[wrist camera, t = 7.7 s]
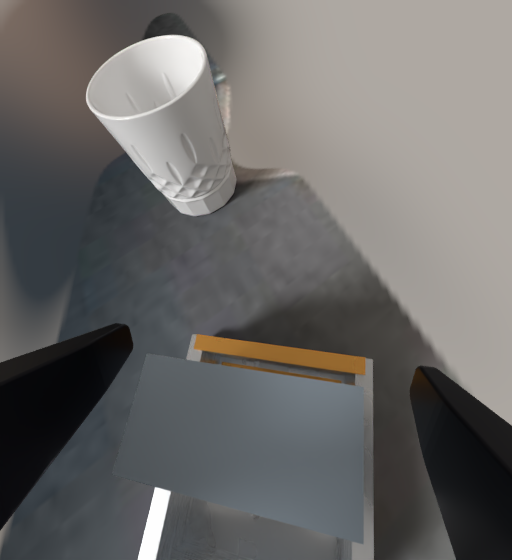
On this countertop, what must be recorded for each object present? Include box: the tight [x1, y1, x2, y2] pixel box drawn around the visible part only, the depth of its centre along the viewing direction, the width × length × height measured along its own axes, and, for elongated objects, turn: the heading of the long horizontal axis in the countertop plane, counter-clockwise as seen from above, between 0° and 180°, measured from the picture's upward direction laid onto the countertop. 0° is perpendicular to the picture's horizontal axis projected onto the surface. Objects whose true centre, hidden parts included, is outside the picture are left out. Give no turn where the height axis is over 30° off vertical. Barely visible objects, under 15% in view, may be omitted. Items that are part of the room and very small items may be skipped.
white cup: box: [86, 35, 237, 216], centre depth 20 cm, size 8×8×10 cm
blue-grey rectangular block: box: [112, 354, 364, 545], centre depth 11 cm, size 3×6×10 cm, turn 83°
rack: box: [138, 334, 374, 560], centre depth 14 cm, size 12×11×5 cm
